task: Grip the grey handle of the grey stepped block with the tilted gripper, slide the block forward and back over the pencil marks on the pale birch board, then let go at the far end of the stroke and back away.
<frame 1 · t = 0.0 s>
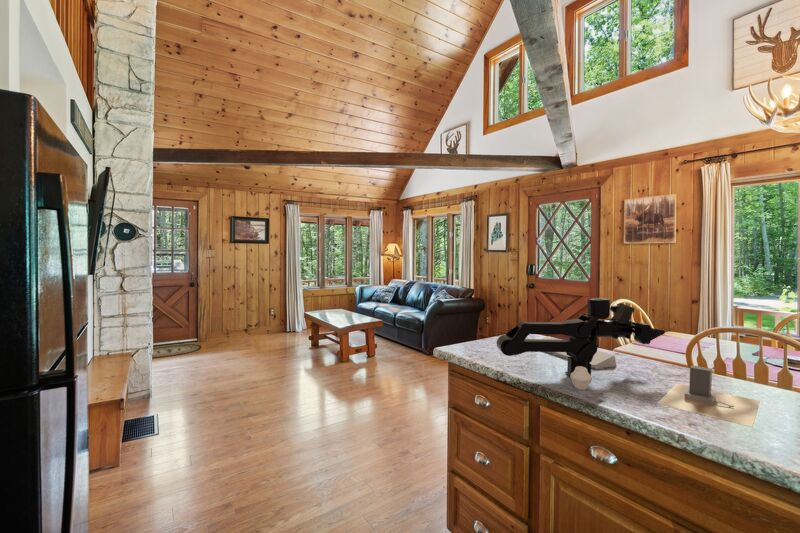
hand: (655, 329, 128), 17 cm above the worktop, tool horizontal, fingers open, 9 cm apart
decorative molding: (569, 358, 155), on the worktop
grey stepped block: (699, 400, 106), point 1 cm above the worktop, touching birch board
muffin: (580, 388, 119), on the worktop
birch board: (708, 407, 104), on the worktop
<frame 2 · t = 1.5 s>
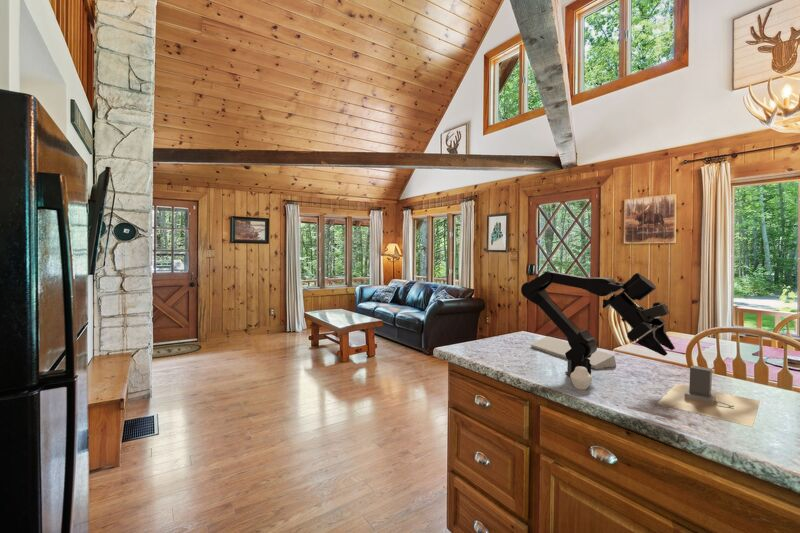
hand: (669, 352, 110), 13 cm above the worktop, tool tilted 45°, fingers open, 9 cm apart
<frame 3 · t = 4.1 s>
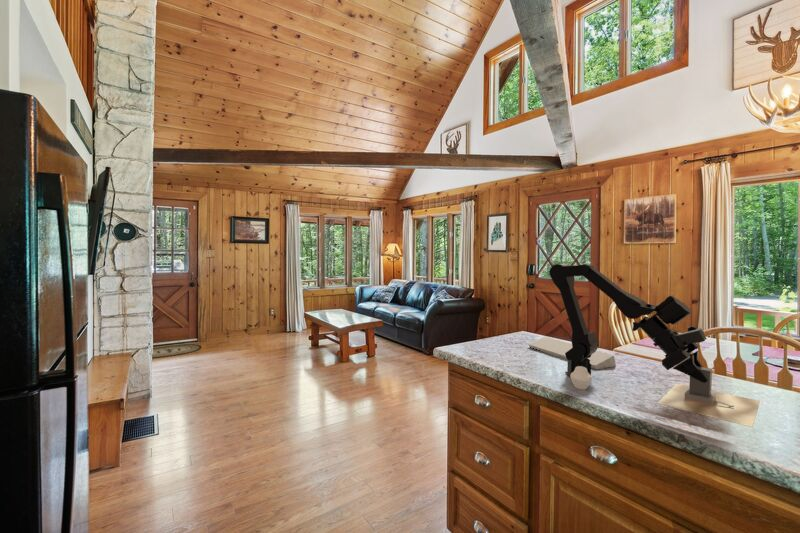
hand: (707, 380, 104), 7 cm above the worktop, tool tilted 45°, fingers closed on grey stepped block, 3 cm apart
grey stepped block: (699, 400, 106), point 1 cm above the worktop, touching birch board, gripper
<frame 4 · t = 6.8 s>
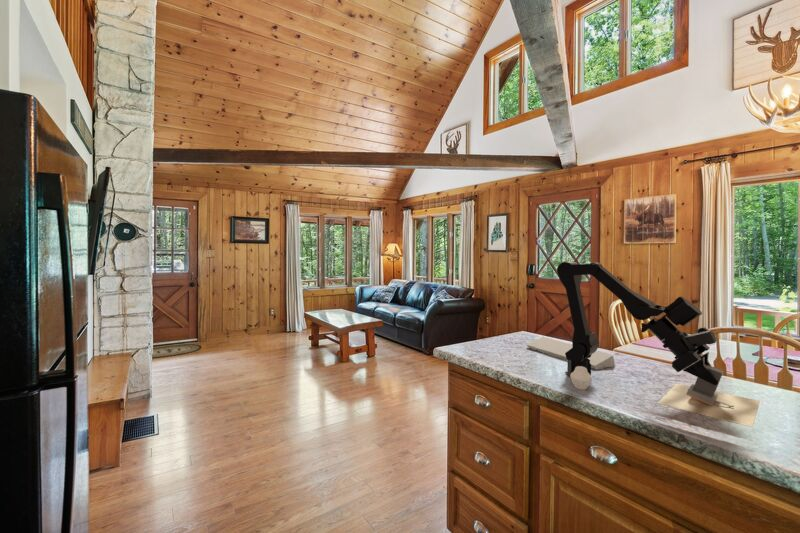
hand: (717, 382, 103), 7 cm above the worktop, tool tilted 45°, fingers closed on grey stepped block, 3 cm apart
grey stepped block: (701, 397, 105), point 2 cm above the worktop, tilted 15°, touching birch board, gripper
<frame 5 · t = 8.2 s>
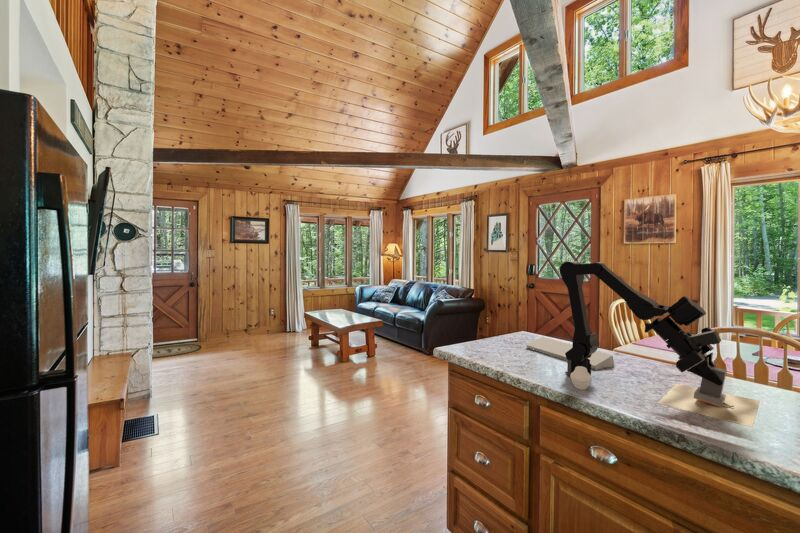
hand: (722, 383, 102), 7 cm above the worktop, tool tilted 45°, fingers closed on grey stepped block, 3 cm apart
grey stepped block: (709, 399, 104), point 2 cm above the worktop, tilted 7°, touching gripper
when the fingers open (7 cm above the worktop, at t = 9.5 s): grey stepped block stays where it is, resting on birch board.
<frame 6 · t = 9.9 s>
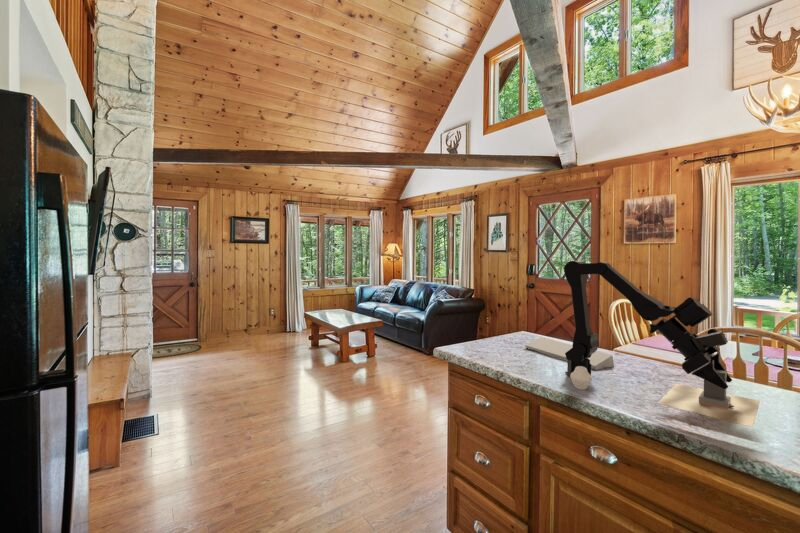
hand: (728, 384, 101), 7 cm above the worktop, tool tilted 45°, fingers open, 7 cm apart
grey stepped block: (714, 403, 103), point 1 cm above the worktop, touching birch board
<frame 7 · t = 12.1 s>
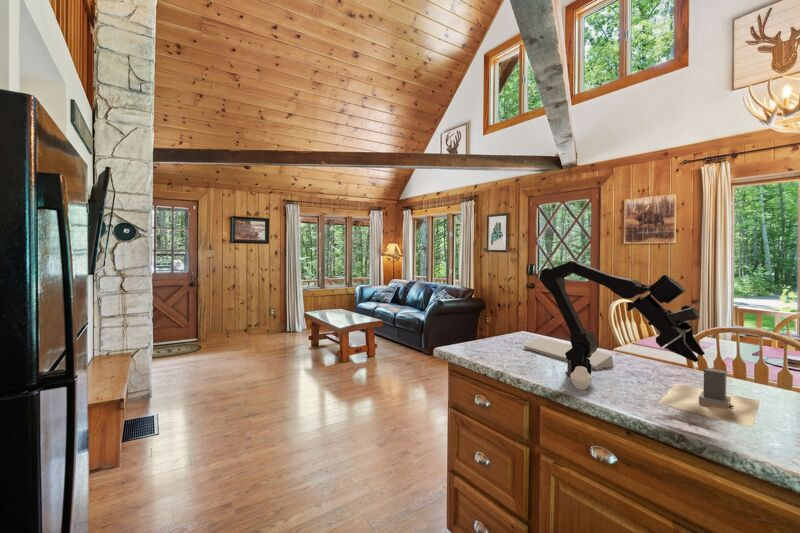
hand: (700, 357, 105), 13 cm above the worktop, tool tilted 45°, fingers open, 9 cm apart
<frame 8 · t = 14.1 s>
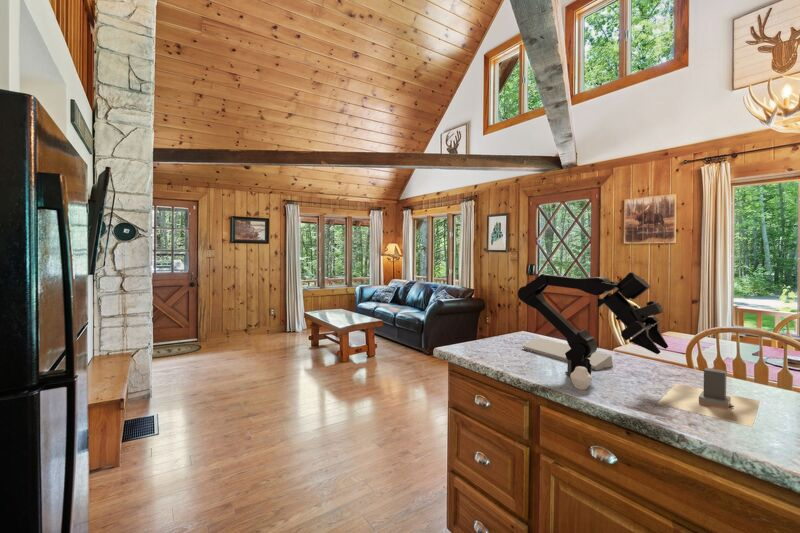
hand: (663, 350, 111), 14 cm above the worktop, tool tilted 45°, fingers open, 9 cm apart
at the end: grey stepped block 2.2 cm from the target spot on the birch board, point 1.4 cm above the birch board's base; grey stepped block tilted 1°; the gripper is holding nothing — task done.
